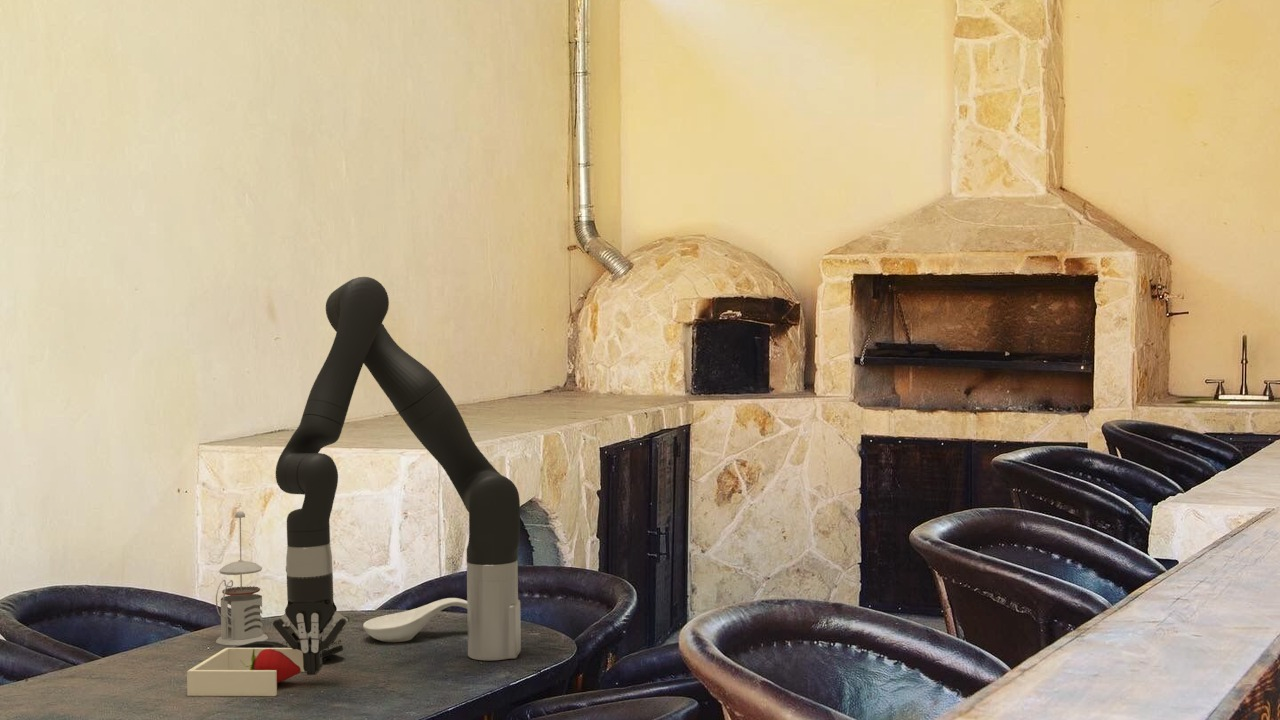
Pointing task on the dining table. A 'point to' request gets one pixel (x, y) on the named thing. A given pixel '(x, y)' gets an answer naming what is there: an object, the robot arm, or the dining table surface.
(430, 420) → the robot arm
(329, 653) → the hairbrush
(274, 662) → the strawberry
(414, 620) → the spoon rest
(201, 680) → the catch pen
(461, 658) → the dining table surface
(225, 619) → the french press
